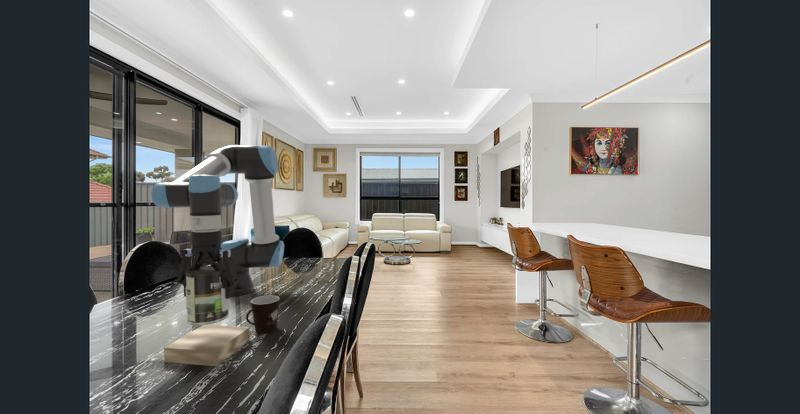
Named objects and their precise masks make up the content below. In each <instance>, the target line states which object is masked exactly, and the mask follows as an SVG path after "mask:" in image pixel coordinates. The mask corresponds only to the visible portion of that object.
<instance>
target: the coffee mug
mask: <svg viewBox="0 0 800 414" xmlns="http://www.w3.org/2000/svg"><path fill="white" fill-rule="evenodd" d="M250 304H251V305H250V306H251V309H250V310H249V311H247V313H246V315H245V316H246V317H245V319H246V322H247V323H248V324H249V325H251V326H252V325H253V326H254V330H255V331H254V332H255V333H256V334H258V335H266V334H270V333H273V332H275V331H276V330H277V327H278V317H279V306H280V297H279V296H277V295H273V294H272V295H270V294H269V295H261V296H257V297H254V298H253V299H251V300H250ZM251 313H252V317H253V318H252V319H253V322H252V321H251V320H249V315H250V314H251Z"/></svg>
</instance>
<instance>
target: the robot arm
mask: <svg viewBox="0 0 800 414" xmlns="http://www.w3.org/2000/svg"><path fill="white" fill-rule="evenodd" d="M278 173H279V161H278V156H277V153H276V151H275V149H274V148H273V147H272V146H270V145H262V144H257V145H255V144H254V145H253V144H251V145H250V144H245V145H244V144H242V145H240V144H234V145H233V144H231V145H227V146H224V147H221V148H218V149H216V150H214V151H212V152H210V153H208V154H207V155H206V157H204V160H203V161H202V162H200V163H199V164H197V165H196V166H194V167H193V168H191V169H190V170H188V171H187V172H185V173H184V174H182V175H181V176H179V177H177V178H176V179H175V180H172V181H170V182H166V181H165V182H158V183H157V182H156V183H155V184H153V186H152V188H151V192H150V193H151V194H150V195H151V200H152V202H153V205H154V206H156V207H159V208H169V209H173V208H177V209H178V208H189V224H190V225H189V227H190V230H191V232H190V245H191V246H192V247H191V248H190V247H189V248H185V249H182V250H181V252H180V253H181V260H180V265H179V268H178V272H177V277H176V282H175V283H177V284H180V285H182V286H183V296H184V298H185V300H186V301H185V302H186V303H185V306H186V307H185V308H186V310H187V285H186V271H187V270H196V269H200V267H202V265H204V264H206V265H209V266H211V267H213V268H214V270H215V271H221V270H224V269H225V270H226V272H224V273H221V282H222V284H223V286H224V287H222V288H221V302H222V311H226V310H228V311H229V309H231V298H232V297H237V296H241V295H246V294H248V293H251V292H253V291H254V289H255V284H254V282H253V279H252V277H251V276H252V275H251V273H250V269H261V268H262V269H263V268H265V269H267V268H268V269H270V268H277V267H280V266H281V264H282V261H283V257H284V254H285V253H284V252H285V243H284V241H283V240H280V235H278V234H276V228H275V227H276V225H275V214H274V201H273V189H272V181H273V179H275V175H276V174H278ZM228 174H241V175H243V174H244V179H245V180H246V181H247V182H248V183H249V184H248V185H249V192H250V193H249V194H250V203H251V205H250V206H251V214H252V225H253V235H254V236H252V238H251V239H250V240H249V238H248V237H245V238H243V237H242V238H235V239H231V240H226V241H223V240H222V239H223V237H222V236H223V235H222V230H221V229H222V208H228V207H231V206H233V205H235V203H236V202H237V200H238V199H239V193H238V190H237V188H236V187H235V186H234V185H233V184H230V183H227V182H221V178H220V177H224V176H226V175H228ZM222 241H223V242H222ZM193 257H194V258H193ZM224 266H225V267H224Z"/></svg>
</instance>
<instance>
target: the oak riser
mask: <svg viewBox="0 0 800 414" xmlns="http://www.w3.org/2000/svg"><path fill="white" fill-rule="evenodd" d="M250 331H251V330H250V327H249V326H236V325H220V324H208V325H200V326H199V327H197V328H196V329H193V330H192V331H190V332H189V333H187V334H185V335H183V336H182V337H180V338H178V339H177V340H175V341H173V342H171V343H170V344H167V346H164V347H163V353H164V354H163V355H164V363H168V364H169V363H170V364H182V365H183V364H184V365H196V366H211V367H218V366H219V365H220V364H221V363H223V362H224V361H225V360H226V359H227V358H229V357H230V356H232V354H234V353H236V350H237V349H238V350H239V349H240V348H242V347H243V346H244V345H245V344H246V342H247V341H248V342H249V341H250V340H251V336H250V335H251V334H250ZM248 342H247V343H248ZM242 345H243V346H242ZM241 346H242V347H241ZM238 350H237V351H238Z"/></svg>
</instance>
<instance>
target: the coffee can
mask: <svg viewBox="0 0 800 414" xmlns="http://www.w3.org/2000/svg"><path fill="white" fill-rule="evenodd" d="M224 267H225V266H224ZM224 272H226V270H225V269H224V270H221V271H215V270H214V268H213V267H211V265H203V266H202V265H201V267H200V269H196V270H187V271H186V285H187V309H186V310H187V311H186V312H187V314H186V315H187V316H186V317H187V321H186V323H187V324H189V325H191V326H202V325H214V324H217V323H220V322H222V321H224V320H226V319H227V318H228V317H229V316H230V314H229V309H228V310H226V311H222V302H221V288H222V287H224V286H223V284H222V282H221V273H224Z"/></svg>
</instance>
